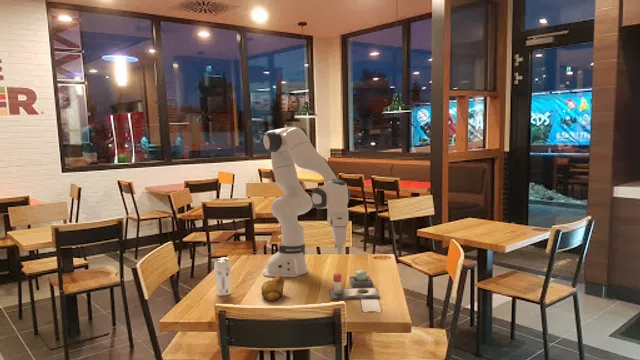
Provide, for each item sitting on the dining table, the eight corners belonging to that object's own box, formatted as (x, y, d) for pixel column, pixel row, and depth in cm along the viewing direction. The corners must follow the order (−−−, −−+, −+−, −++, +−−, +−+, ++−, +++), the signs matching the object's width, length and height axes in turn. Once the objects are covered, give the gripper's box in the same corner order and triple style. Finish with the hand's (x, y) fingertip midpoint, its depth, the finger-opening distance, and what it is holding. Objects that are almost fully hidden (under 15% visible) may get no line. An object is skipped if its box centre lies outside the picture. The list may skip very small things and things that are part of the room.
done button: (356, 282, 202) (356, 273, 202) (354, 278, 207) (354, 270, 207) (367, 281, 203) (367, 273, 202) (365, 278, 208) (365, 269, 207)
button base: (352, 289, 201) (352, 282, 200) (349, 282, 210) (349, 276, 209) (372, 288, 201) (372, 282, 201) (369, 282, 210) (369, 275, 210)
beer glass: (223, 297, 192) (222, 263, 191) (211, 294, 196) (210, 260, 195) (234, 292, 198) (233, 259, 197) (223, 289, 202) (222, 256, 200)
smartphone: (359, 298, 191) (362, 313, 175) (359, 297, 191) (362, 312, 175) (378, 298, 190) (382, 313, 174) (378, 297, 190) (382, 312, 174)
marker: (333, 294, 192) (333, 276, 191) (333, 291, 195) (332, 273, 194) (342, 294, 192) (341, 275, 191) (340, 291, 195) (340, 273, 194)
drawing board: (331, 300, 188) (331, 297, 188) (329, 291, 199) (329, 288, 199) (379, 298, 189) (379, 295, 189) (374, 289, 200) (374, 286, 200)
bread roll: (281, 303, 186) (280, 284, 185) (257, 302, 186) (257, 283, 186) (285, 292, 199) (285, 274, 198) (263, 291, 199) (263, 274, 198)
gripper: (328, 214, 200) (328, 245, 202) (332, 223, 180) (333, 257, 181) (342, 213, 201) (342, 244, 202) (348, 222, 180) (348, 256, 182)
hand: (338, 250), depth 191 cm, fingers open, 8 cm apart
